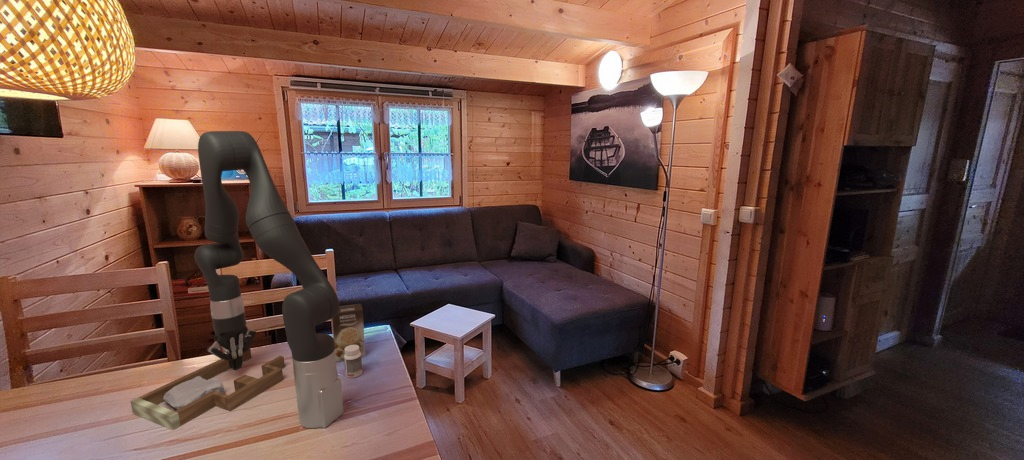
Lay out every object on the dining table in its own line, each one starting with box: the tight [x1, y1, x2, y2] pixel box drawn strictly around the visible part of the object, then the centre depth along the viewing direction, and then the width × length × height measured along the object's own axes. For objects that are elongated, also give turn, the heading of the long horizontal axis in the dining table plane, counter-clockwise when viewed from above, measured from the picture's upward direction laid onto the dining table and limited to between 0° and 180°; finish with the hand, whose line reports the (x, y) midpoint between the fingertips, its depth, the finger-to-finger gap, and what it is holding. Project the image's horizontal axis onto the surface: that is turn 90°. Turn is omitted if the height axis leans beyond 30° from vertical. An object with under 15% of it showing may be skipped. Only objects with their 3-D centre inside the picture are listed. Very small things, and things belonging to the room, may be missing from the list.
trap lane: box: [130, 347, 286, 431], centre depth 107 cm, size 22×30×4 cm
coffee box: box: [331, 303, 366, 363], centre depth 125 cm, size 9×6×16 cm
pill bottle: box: [343, 345, 363, 379], centre depth 115 cm, size 5×5×8 cm
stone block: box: [163, 376, 226, 410], centre depth 103 cm, size 12×5×10 cm
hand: (236, 368), depth 113 cm, fingers closed
